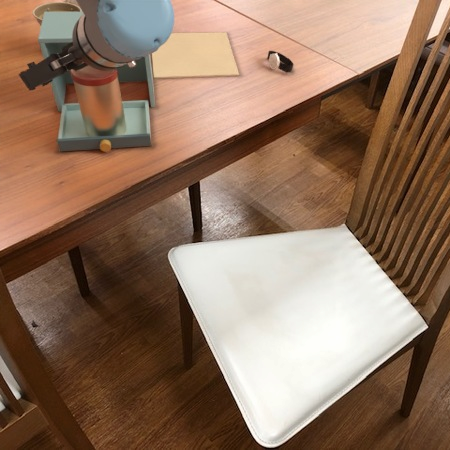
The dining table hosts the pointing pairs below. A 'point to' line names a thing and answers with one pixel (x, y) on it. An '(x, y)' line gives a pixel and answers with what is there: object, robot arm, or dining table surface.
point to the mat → (194, 56)
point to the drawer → (78, 139)
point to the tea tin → (99, 101)
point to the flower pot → (54, 9)
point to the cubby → (62, 35)
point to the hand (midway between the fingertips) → (79, 58)
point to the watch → (275, 61)
